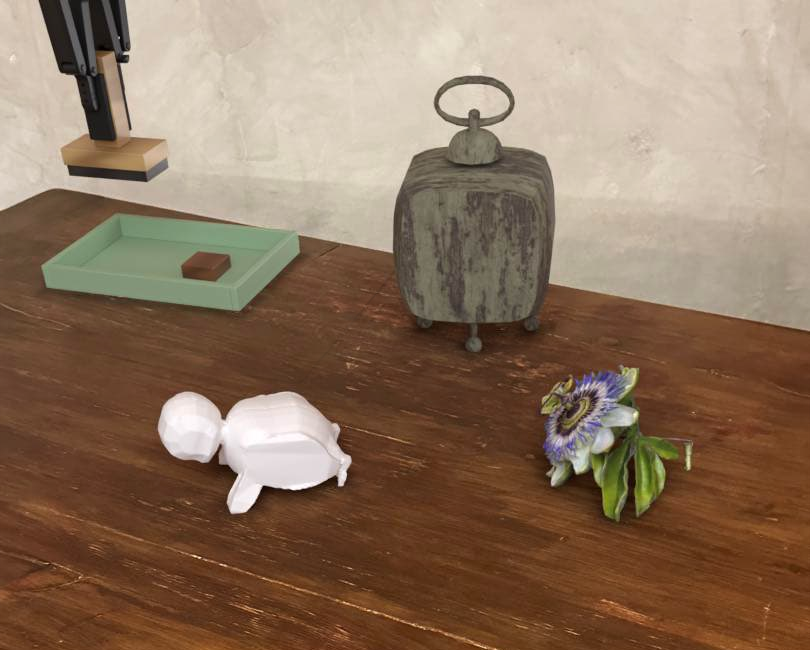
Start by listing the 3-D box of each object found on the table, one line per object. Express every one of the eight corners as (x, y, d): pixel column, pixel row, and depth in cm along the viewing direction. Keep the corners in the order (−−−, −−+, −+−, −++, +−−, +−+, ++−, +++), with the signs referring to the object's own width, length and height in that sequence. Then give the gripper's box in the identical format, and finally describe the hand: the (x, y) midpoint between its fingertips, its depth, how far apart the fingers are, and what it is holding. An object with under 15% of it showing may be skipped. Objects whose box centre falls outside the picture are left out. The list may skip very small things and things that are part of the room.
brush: (66, 176, 120) (39, 58, 113) (91, 160, 124) (66, 45, 117) (148, 183, 117) (125, 62, 110) (171, 167, 121) (151, 49, 114)
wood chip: (182, 278, 124) (180, 265, 123) (199, 263, 127) (197, 250, 126) (215, 281, 122) (213, 268, 122) (231, 267, 125) (229, 254, 125)
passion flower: (555, 531, 94) (519, 392, 94) (682, 498, 94) (646, 358, 93) (571, 538, 83) (530, 380, 82) (715, 500, 83) (675, 341, 82)
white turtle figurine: (316, 474, 98) (143, 446, 93) (344, 389, 94) (165, 355, 88) (334, 530, 92) (149, 504, 86) (365, 442, 87) (173, 408, 82)
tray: (47, 293, 124) (40, 265, 122) (121, 239, 135) (116, 212, 133) (240, 317, 117) (236, 288, 115) (300, 258, 129) (297, 230, 127)
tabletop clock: (551, 324, 113) (561, 62, 98) (547, 367, 106) (557, 92, 91) (408, 320, 115) (397, 63, 100) (395, 363, 108) (380, 93, 93)
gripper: (46, -111, 97) (102, 161, 111) (137, -135, 109) (178, 114, 123) (-26, -111, 99) (38, 156, 114) (71, -135, 111) (118, 110, 125)
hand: (111, 134), depth 118 cm, fingers closed on brush, 2 cm apart
